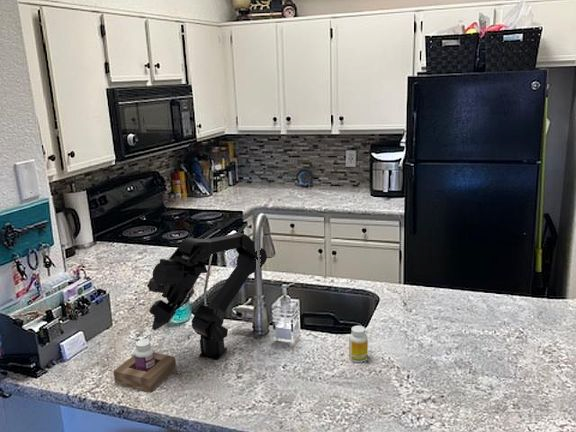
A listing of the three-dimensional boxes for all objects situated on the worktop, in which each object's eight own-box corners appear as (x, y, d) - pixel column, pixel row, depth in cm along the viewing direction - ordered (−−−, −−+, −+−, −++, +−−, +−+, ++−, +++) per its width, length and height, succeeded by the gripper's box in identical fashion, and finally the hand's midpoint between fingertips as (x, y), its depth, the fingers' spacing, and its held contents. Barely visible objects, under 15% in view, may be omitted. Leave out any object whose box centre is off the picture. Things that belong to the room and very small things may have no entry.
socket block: (176, 369, 151) (174, 356, 150) (150, 392, 141) (149, 379, 140) (142, 361, 156) (140, 349, 155) (115, 383, 145) (113, 370, 144)
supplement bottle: (345, 356, 155) (345, 327, 152) (360, 351, 157) (360, 322, 154) (355, 364, 150) (355, 334, 147) (371, 360, 152) (371, 330, 150)
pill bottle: (151, 379, 145) (147, 348, 142) (133, 377, 146) (129, 346, 143) (159, 368, 150) (155, 338, 147) (142, 367, 151) (138, 337, 148)
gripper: (173, 255, 156) (151, 293, 162) (145, 278, 139) (121, 321, 144) (204, 275, 156) (181, 313, 161) (180, 301, 139) (155, 343, 144)
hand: (160, 321), depth 153 cm, fingers open, 9 cm apart
